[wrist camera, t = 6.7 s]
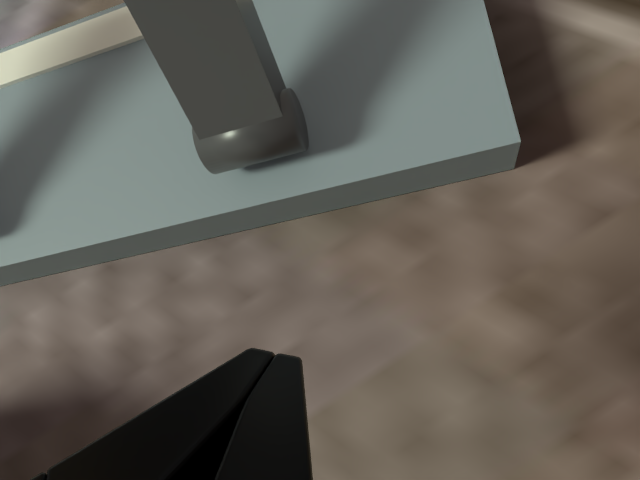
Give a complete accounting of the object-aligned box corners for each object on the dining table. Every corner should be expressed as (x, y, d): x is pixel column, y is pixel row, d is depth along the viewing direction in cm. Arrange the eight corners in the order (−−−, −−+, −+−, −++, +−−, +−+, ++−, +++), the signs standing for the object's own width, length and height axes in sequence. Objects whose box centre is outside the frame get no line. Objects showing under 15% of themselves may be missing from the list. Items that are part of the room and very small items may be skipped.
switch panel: (514, 168, 17) (521, 139, 15) (-119, 313, 25) (-187, 310, 22) (453, -65, 20) (451, -125, 17) (-107, 130, 27) (-167, 108, 24)
